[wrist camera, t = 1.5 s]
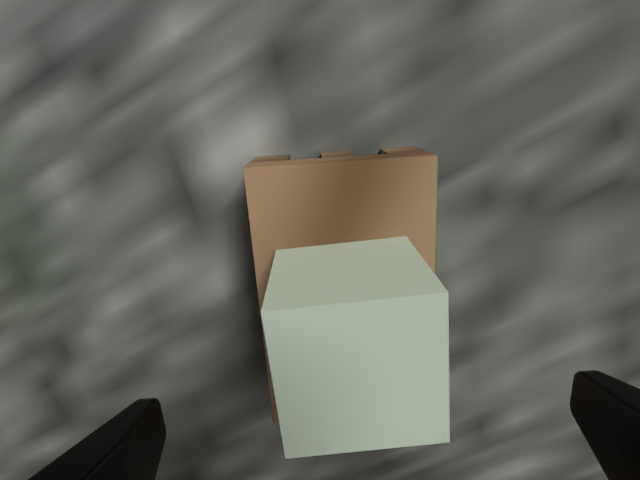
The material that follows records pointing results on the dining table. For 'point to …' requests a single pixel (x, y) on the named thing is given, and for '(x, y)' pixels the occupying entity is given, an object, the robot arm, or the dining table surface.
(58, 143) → the dining table surface
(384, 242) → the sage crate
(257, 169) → the walnut pallet
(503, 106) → the dining table surface
